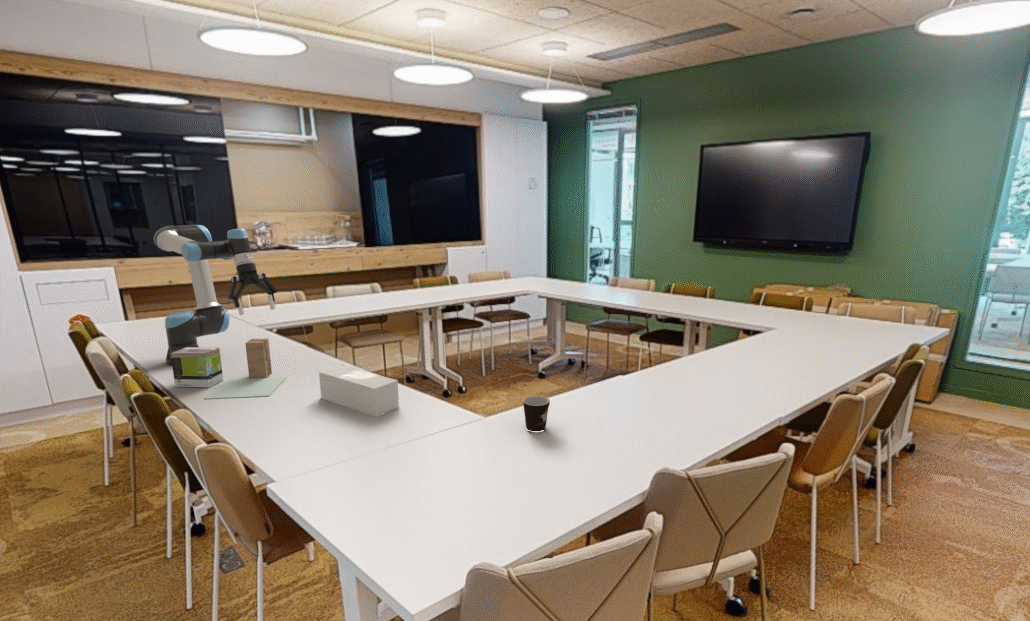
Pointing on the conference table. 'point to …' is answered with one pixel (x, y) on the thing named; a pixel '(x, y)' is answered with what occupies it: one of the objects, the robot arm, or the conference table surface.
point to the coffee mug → (536, 412)
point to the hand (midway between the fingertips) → (257, 312)
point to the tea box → (197, 367)
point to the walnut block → (258, 358)
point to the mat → (246, 388)
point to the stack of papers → (359, 390)
